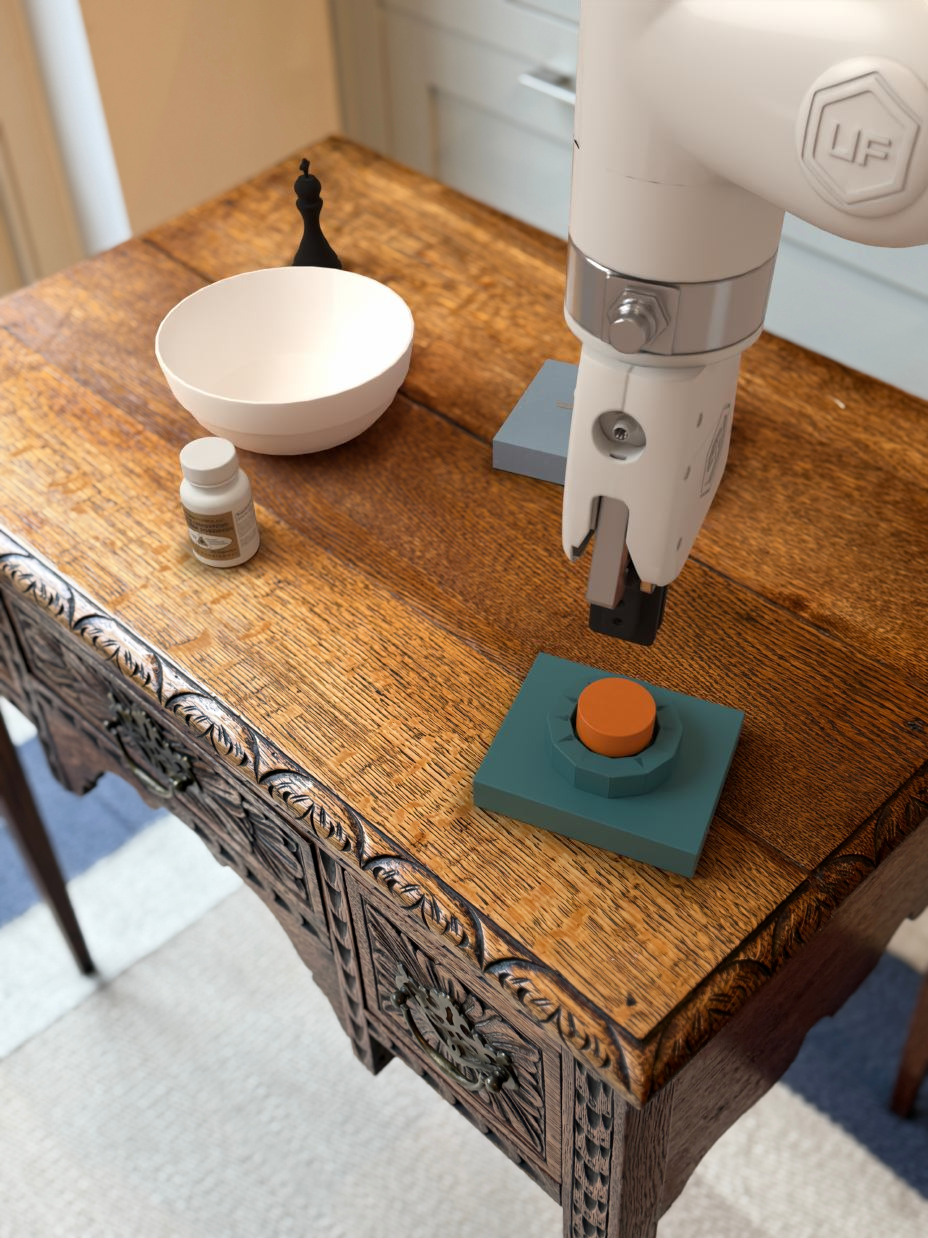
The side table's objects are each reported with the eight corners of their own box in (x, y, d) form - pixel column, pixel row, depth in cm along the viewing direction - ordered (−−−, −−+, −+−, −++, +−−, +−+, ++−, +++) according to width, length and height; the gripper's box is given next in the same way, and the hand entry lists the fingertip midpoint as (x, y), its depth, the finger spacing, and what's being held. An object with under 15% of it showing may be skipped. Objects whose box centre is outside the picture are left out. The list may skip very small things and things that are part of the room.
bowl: (127, 464, 84) (104, 377, 79) (239, 333, 97) (225, 251, 92) (366, 512, 80) (358, 424, 75) (451, 369, 92) (449, 285, 87)
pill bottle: (180, 560, 77) (157, 465, 72) (215, 519, 80) (195, 425, 74) (239, 576, 76) (220, 481, 70) (272, 534, 79) (256, 440, 73)
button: (662, 712, 62) (665, 690, 61) (639, 767, 60) (643, 745, 59) (590, 690, 64) (592, 668, 62) (565, 744, 61) (567, 722, 60)
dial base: (725, 426, 87) (730, 396, 85) (685, 515, 79) (689, 484, 78) (546, 386, 91) (547, 356, 89) (492, 467, 84) (492, 437, 82)
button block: (739, 737, 66) (751, 689, 63) (692, 880, 59) (702, 833, 57) (538, 676, 69) (540, 628, 66) (472, 805, 63) (471, 758, 60)
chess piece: (283, 278, 103) (268, 165, 96) (303, 254, 106) (290, 144, 99) (330, 285, 102) (318, 172, 95) (349, 261, 105) (339, 150, 98)
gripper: (715, 410, 38) (656, 766, 51) (809, 209, 47) (739, 551, 60) (497, 361, 40) (494, 715, 53) (630, 179, 50) (600, 516, 63)
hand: (625, 627), depth 57 cm, fingers closed
